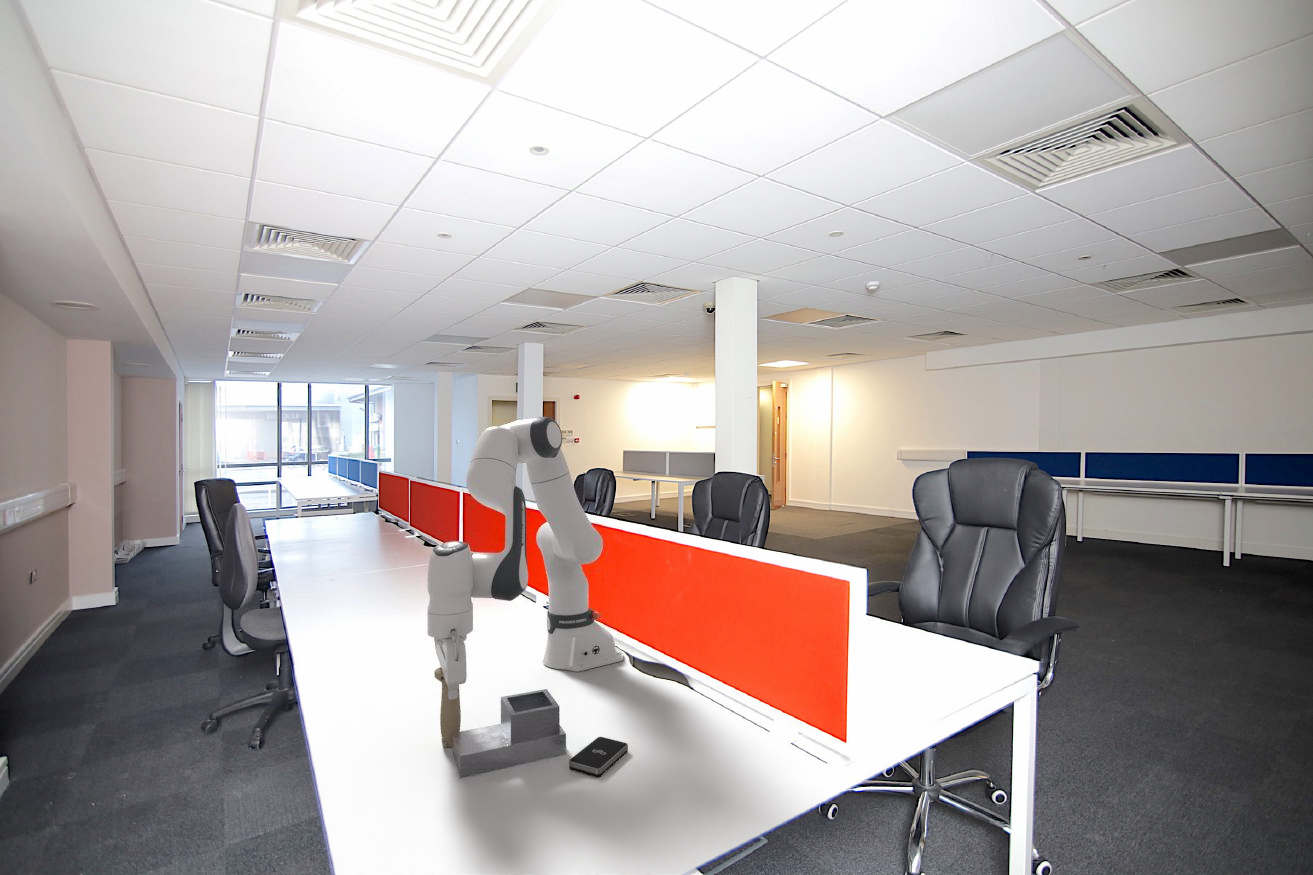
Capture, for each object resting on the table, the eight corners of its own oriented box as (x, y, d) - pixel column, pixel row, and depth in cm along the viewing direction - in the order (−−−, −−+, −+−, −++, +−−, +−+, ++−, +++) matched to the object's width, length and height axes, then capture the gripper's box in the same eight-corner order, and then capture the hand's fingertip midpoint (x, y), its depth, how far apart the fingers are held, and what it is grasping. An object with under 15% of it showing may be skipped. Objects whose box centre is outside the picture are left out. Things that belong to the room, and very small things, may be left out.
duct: (552, 732, 130) (552, 687, 130) (566, 754, 121) (566, 705, 121) (453, 753, 121) (453, 704, 121) (460, 778, 112) (460, 725, 112)
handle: (454, 752, 121) (454, 676, 121) (429, 746, 124) (429, 672, 124) (471, 741, 126) (471, 668, 126) (446, 736, 128) (446, 664, 128)
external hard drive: (629, 753, 121) (628, 743, 122) (598, 780, 112) (598, 769, 112) (599, 745, 125) (599, 735, 125) (567, 771, 115) (567, 761, 115)
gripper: (474, 635, 117) (474, 708, 117) (459, 609, 135) (459, 672, 135) (439, 640, 114) (439, 714, 114) (429, 613, 133) (429, 677, 133)
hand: (450, 691), depth 125 cm, fingers open, 5 cm apart
